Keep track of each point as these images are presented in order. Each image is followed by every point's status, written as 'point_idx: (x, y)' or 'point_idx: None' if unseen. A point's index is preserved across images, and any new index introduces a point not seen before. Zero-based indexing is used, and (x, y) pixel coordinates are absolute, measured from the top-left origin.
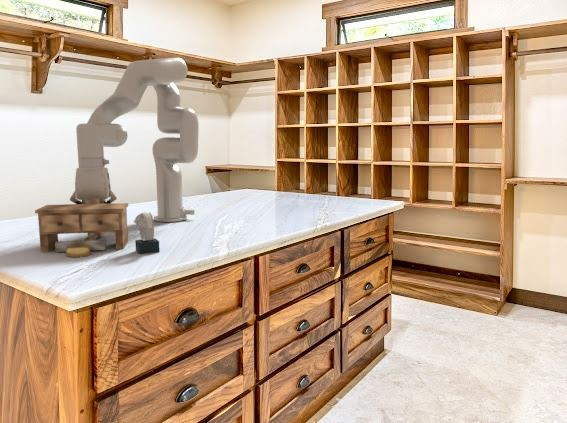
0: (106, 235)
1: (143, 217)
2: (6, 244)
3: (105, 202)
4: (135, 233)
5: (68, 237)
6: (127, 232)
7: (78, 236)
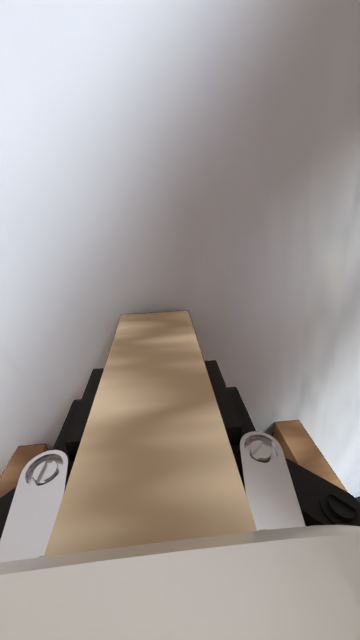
0: (199, 299)
1: None
2: None
3: (290, 503)
4: (342, 262)
5: (16, 330)
6: (319, 453)
7: (59, 310)
